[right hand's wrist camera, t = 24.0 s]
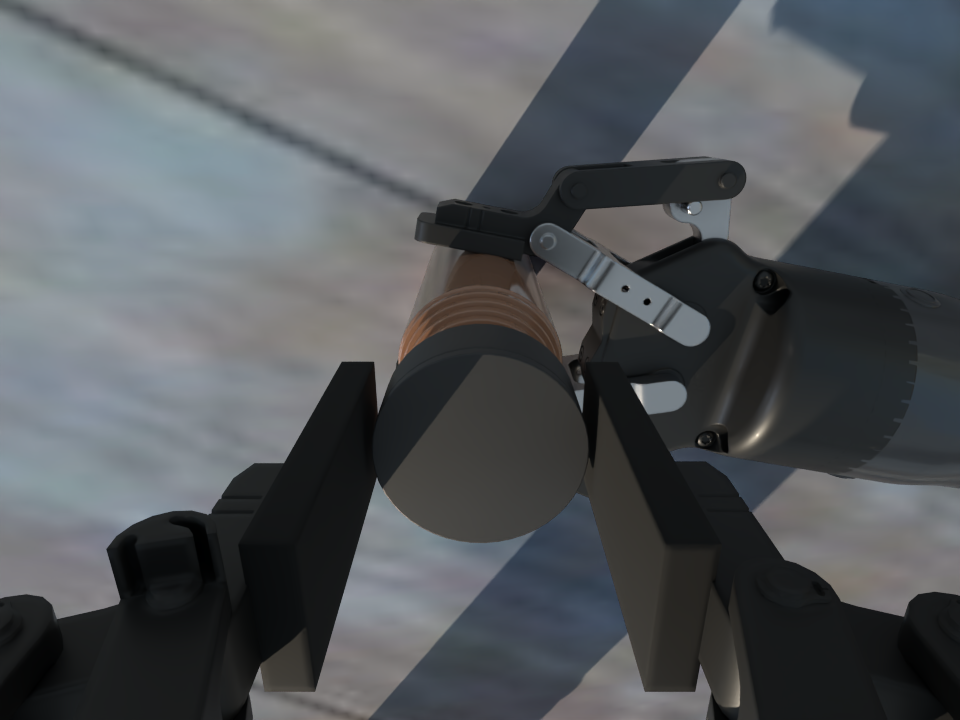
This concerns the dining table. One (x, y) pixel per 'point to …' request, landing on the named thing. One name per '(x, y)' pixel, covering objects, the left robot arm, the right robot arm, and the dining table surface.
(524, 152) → the dining table surface
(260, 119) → the dining table surface
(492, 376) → the cap
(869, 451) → the left robot arm
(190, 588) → the right robot arm
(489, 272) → the bottle
